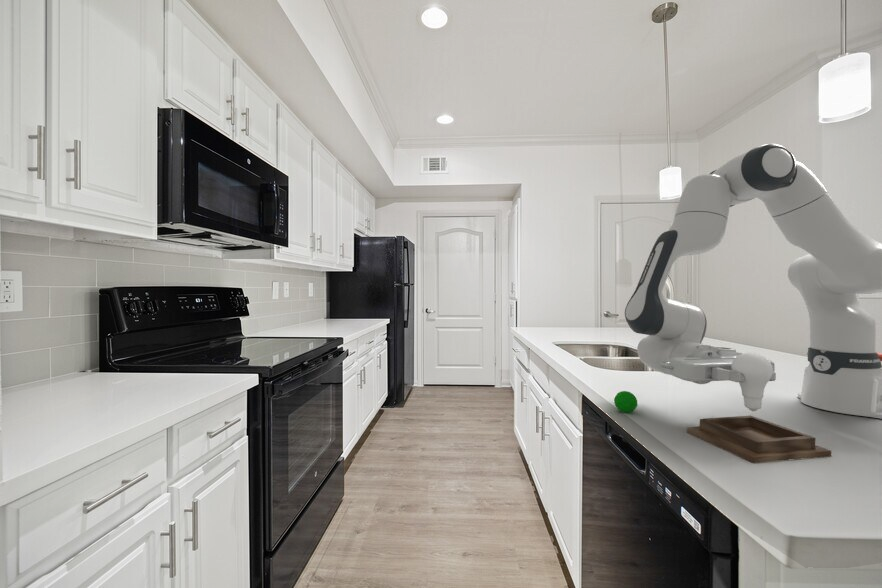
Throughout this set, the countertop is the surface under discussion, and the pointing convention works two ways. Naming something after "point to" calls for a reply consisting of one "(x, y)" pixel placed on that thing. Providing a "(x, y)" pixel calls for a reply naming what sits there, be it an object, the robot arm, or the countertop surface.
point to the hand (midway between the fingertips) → (757, 377)
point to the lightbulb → (753, 377)
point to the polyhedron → (625, 402)
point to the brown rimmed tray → (757, 439)
